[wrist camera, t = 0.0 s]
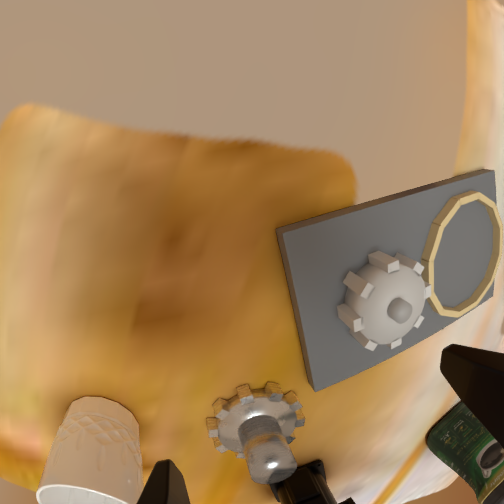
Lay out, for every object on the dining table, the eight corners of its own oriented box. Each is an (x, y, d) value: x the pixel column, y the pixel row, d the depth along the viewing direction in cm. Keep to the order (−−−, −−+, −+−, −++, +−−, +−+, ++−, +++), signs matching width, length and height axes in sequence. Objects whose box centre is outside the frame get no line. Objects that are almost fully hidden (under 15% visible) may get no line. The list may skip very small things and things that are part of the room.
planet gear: (304, 429, 28) (330, 476, 22) (223, 456, 27) (237, 507, 21) (290, 369, 25) (320, 420, 19) (193, 400, 24) (202, 459, 18)
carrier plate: (483, 291, 30) (514, 307, 25) (308, 382, 26) (332, 418, 22) (483, 169, 25) (521, 174, 21) (275, 228, 22) (302, 246, 17)
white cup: (109, 377, 22) (90, 477, 13) (163, 436, 25) (169, 528, 15) (44, 404, 21) (15, 490, 12) (99, 457, 24) (91, 539, 15)
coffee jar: (427, 451, 37) (490, 524, 20) (421, 432, 35) (497, 515, 17) (471, 412, 38) (540, 474, 20) (470, 388, 35) (552, 457, 18)
